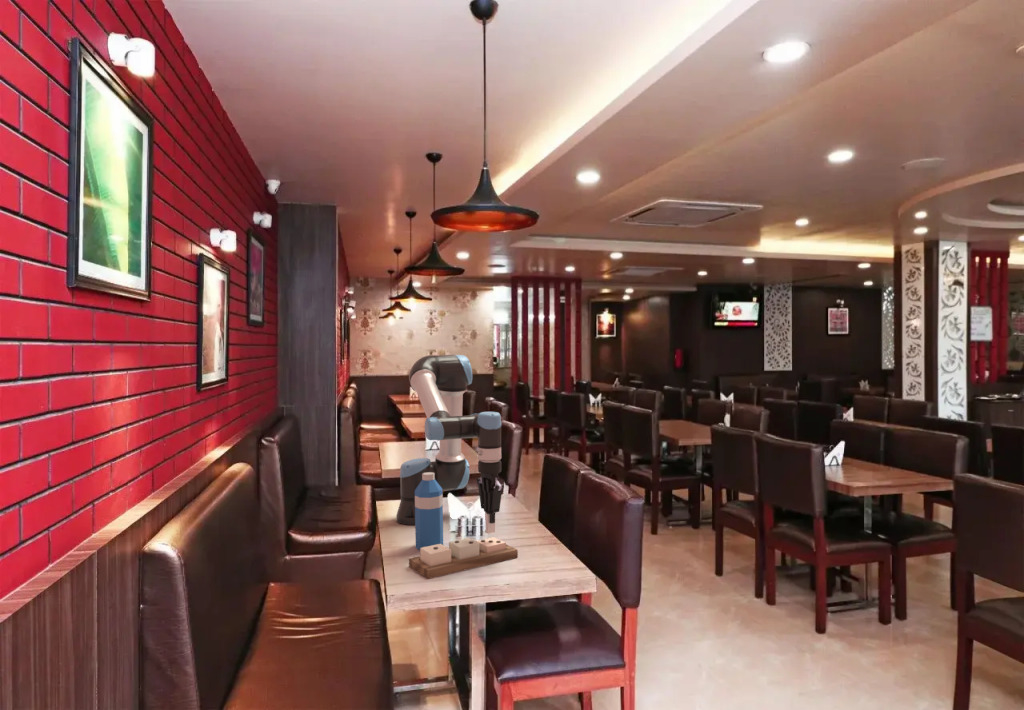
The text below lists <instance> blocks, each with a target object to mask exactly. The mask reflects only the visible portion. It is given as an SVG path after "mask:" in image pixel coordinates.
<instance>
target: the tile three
mask: <svg viewBox="0 0 1024 710" xmlns="http://www.w3.org/2000/svg"><path fill="white" fill-rule="evenodd" d="M475 542H477V543H479V550H481V551H483V552H485V553H492V552H496V551H500V550H505V549H506V545H507V542H505V541H504V540H502V539H498V538H497V537H494V536H493V537H489V538H485V539H481V540H475Z"/></svg>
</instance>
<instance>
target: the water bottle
mask: <svg viewBox="0 0 1024 710" xmlns="http://www.w3.org/2000/svg"><path fill="white" fill-rule="evenodd" d="M443 497H444V495H443V491H442V488H441V486H440V485H439V484H438V483H437V481H436V480H435V473H432V472H427V473H423V474H422V481H421V482H420V484H419V485H418V487H417V488H416V489H415V525H414V527H415V528H414V529H415V533H414V534H415V549H417V550H419V551H420V548H422V547H427V546H432V545H437V544H442V545H444V514H443V513H444V507H443V506H444V504H443V503H444V502H443V501H444V499H443Z"/></svg>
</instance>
